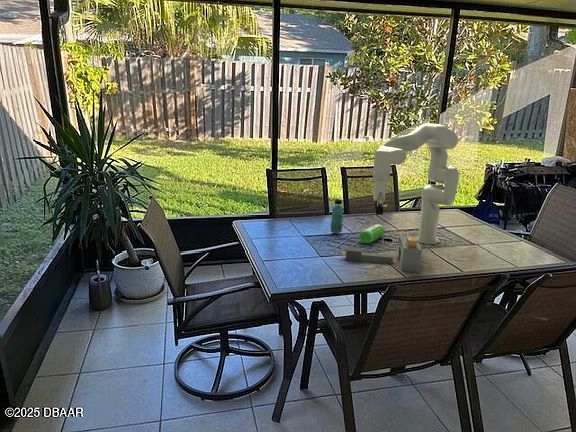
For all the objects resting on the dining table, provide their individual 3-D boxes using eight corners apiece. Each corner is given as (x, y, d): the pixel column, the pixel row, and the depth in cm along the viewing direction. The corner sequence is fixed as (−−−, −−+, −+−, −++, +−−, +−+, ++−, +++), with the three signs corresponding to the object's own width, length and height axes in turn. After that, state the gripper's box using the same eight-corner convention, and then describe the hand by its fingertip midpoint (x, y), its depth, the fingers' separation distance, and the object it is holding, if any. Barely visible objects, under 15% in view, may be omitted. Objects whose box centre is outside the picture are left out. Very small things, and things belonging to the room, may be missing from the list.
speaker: (370, 245, 223) (372, 232, 221) (358, 242, 228) (359, 229, 225) (384, 237, 237) (385, 224, 235) (372, 234, 241) (374, 222, 239)
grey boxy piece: (396, 255, 211) (399, 228, 207) (412, 256, 210) (416, 229, 206) (401, 270, 191) (404, 241, 188) (419, 272, 190) (422, 243, 187)
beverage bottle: (328, 232, 242) (330, 198, 236) (338, 231, 244) (340, 198, 239) (333, 236, 236) (335, 201, 231) (343, 235, 238) (346, 200, 233)
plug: (341, 256, 207) (342, 246, 206) (391, 260, 204) (392, 250, 202) (341, 259, 202) (342, 250, 201) (392, 264, 199) (393, 254, 198)
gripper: (372, 172, 204) (370, 206, 209) (373, 179, 188) (371, 216, 193) (388, 172, 203) (385, 207, 208) (391, 180, 187) (388, 217, 192)
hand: (378, 211), depth 201 cm, fingers open, 9 cm apart
